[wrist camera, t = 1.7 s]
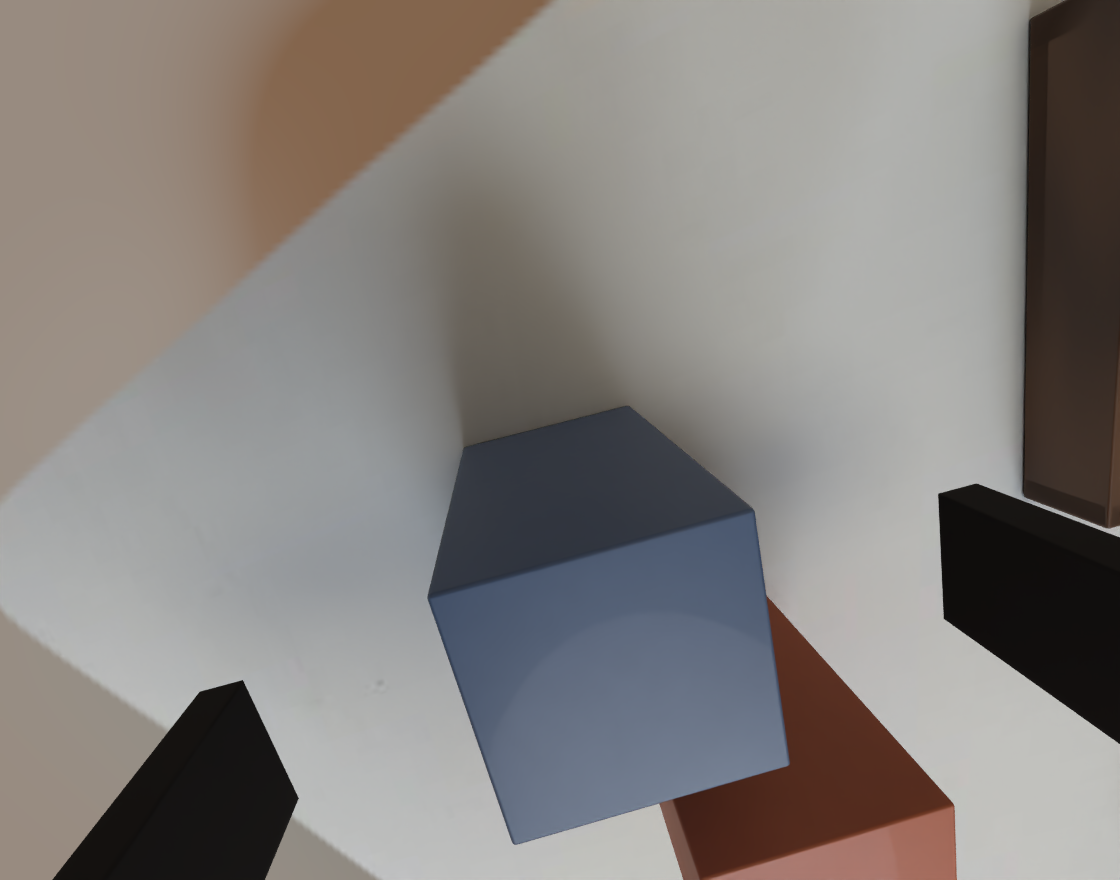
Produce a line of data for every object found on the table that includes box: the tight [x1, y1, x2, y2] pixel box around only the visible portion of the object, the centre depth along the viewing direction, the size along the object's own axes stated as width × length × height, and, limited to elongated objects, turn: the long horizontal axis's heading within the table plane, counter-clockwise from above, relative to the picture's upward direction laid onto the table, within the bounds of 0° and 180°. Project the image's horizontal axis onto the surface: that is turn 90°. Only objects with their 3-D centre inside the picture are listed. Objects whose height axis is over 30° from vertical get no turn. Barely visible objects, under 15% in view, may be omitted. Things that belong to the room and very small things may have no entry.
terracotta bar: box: [659, 596, 957, 880], centre depth 14 cm, size 5×5×8 cm
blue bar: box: [428, 406, 790, 845], centre depth 12 cm, size 5×5×8 cm
